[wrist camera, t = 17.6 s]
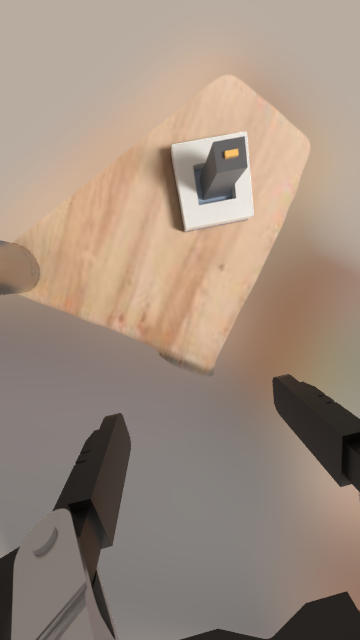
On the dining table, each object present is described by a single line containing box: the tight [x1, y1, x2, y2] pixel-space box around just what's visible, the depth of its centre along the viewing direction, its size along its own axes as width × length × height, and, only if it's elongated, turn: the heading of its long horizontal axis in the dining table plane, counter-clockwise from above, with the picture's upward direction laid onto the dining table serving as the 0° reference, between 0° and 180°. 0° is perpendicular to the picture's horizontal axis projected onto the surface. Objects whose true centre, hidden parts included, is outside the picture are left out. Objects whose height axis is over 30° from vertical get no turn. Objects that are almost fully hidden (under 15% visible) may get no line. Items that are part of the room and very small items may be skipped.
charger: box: [200, 136, 248, 200], centre depth 28 cm, size 4×4×9 cm
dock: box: [171, 131, 254, 232], centre depth 32 cm, size 13×13×2 cm
